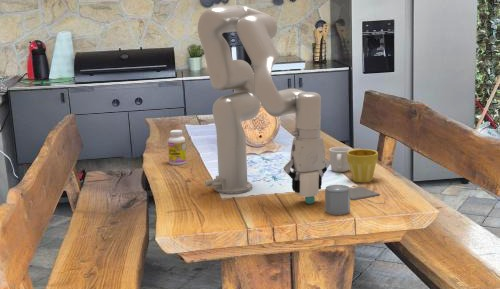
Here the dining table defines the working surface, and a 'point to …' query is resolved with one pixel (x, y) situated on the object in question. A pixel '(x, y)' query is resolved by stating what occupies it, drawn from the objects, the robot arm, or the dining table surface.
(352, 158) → the plant pot
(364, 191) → the coaster
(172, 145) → the supplement bottle
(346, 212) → the beaker
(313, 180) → the beaker
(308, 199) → the ball
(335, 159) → the cup
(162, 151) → the dining table surface
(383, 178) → the dining table surface
